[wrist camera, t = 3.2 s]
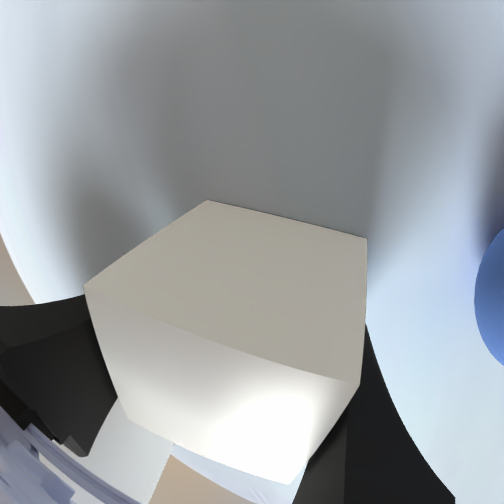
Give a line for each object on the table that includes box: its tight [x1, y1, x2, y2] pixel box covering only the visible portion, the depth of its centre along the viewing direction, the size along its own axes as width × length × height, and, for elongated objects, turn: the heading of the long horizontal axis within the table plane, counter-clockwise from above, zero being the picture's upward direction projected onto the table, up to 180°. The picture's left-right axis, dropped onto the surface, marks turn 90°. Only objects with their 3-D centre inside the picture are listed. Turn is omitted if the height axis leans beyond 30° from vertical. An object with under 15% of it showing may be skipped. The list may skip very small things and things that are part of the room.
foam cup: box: [38, 398, 175, 504], centre depth 14 cm, size 10×9×13 cm
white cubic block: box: [83, 200, 367, 485], centre depth 9 cm, size 6×6×6 cm
